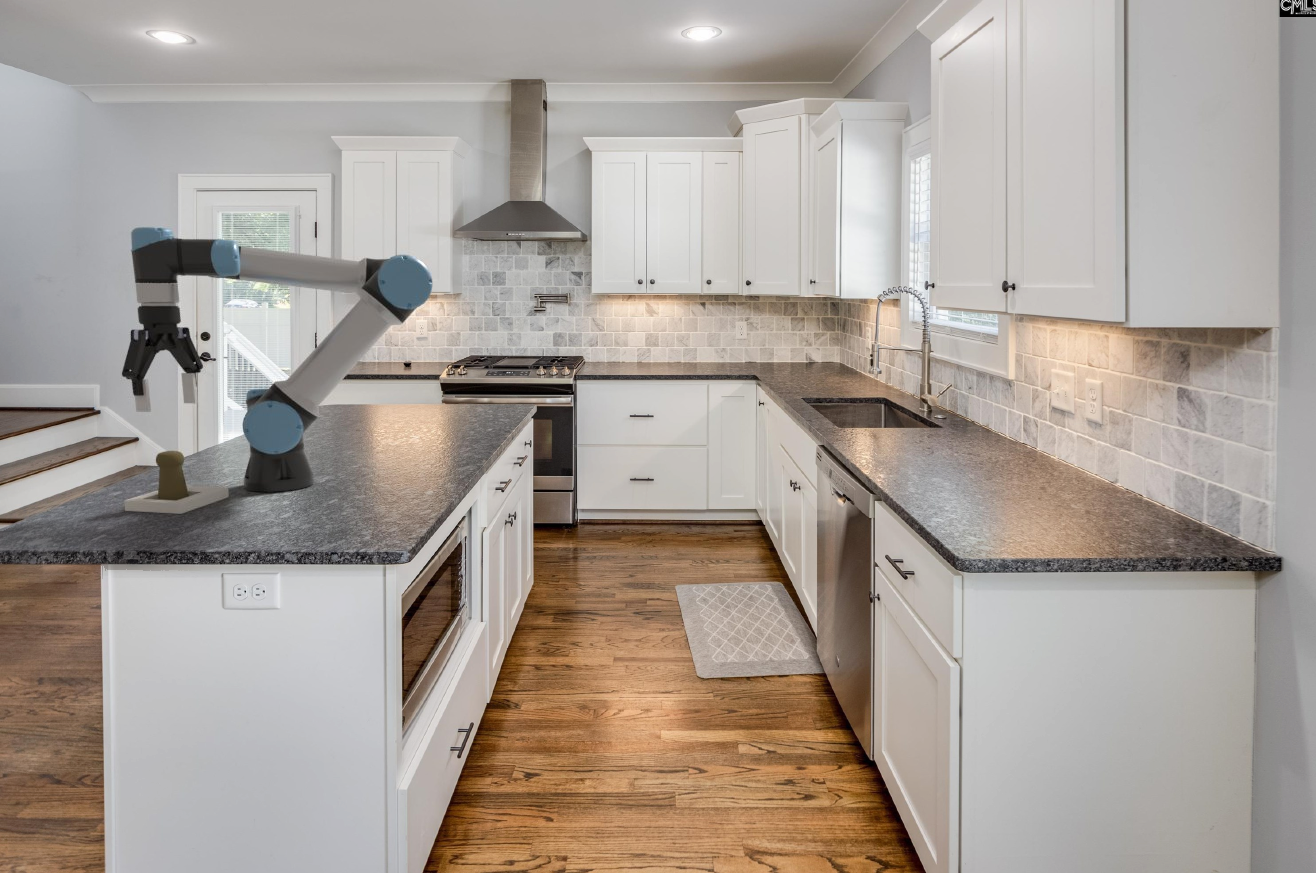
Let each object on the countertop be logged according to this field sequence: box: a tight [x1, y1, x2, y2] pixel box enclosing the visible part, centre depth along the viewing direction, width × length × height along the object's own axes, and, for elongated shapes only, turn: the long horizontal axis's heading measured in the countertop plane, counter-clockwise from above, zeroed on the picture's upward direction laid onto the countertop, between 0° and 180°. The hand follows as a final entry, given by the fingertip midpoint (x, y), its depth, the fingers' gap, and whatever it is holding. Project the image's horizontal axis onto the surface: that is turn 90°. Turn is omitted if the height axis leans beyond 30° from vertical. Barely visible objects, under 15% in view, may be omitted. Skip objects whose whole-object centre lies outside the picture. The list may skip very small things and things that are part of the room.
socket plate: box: [123, 485, 229, 514], centre depth 183 cm, size 15×13×2 cm
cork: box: [155, 450, 189, 501], centre depth 180 cm, size 6×6×11 cm
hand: (168, 407), depth 178 cm, fingers open, 13 cm apart
